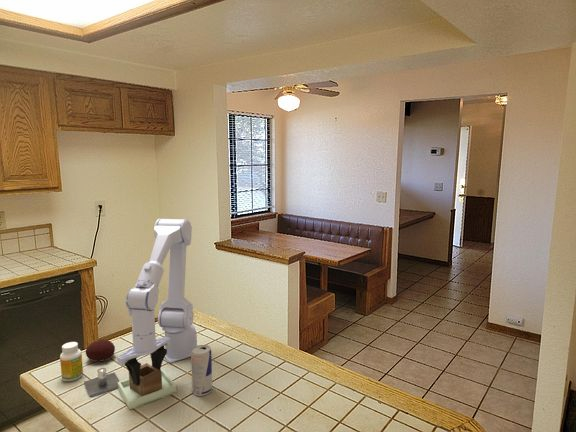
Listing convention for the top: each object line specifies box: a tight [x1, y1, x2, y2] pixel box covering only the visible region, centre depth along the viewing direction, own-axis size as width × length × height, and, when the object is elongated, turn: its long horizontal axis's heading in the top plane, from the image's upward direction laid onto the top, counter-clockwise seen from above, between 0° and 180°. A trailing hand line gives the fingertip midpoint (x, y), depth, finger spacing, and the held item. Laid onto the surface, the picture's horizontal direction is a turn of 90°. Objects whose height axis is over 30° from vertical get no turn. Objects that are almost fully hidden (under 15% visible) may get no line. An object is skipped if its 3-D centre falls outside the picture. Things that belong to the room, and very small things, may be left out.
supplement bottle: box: [59, 341, 84, 382], centre depth 112 cm, size 5×5×10 cm
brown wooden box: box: [128, 362, 162, 396], centre depth 106 cm, size 7×5×5 cm
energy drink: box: [190, 344, 213, 397], centre depth 105 cm, size 5×5×12 cm
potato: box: [84, 339, 116, 362], centre depth 122 cm, size 7×8×6 cm
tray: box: [117, 367, 178, 411], centre depth 106 cm, size 12×11×2 cm
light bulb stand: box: [83, 367, 120, 398], centre depth 108 cm, size 8×8×5 cm
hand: (146, 379), depth 105 cm, fingers closed on brown wooden box, 5 cm apart
